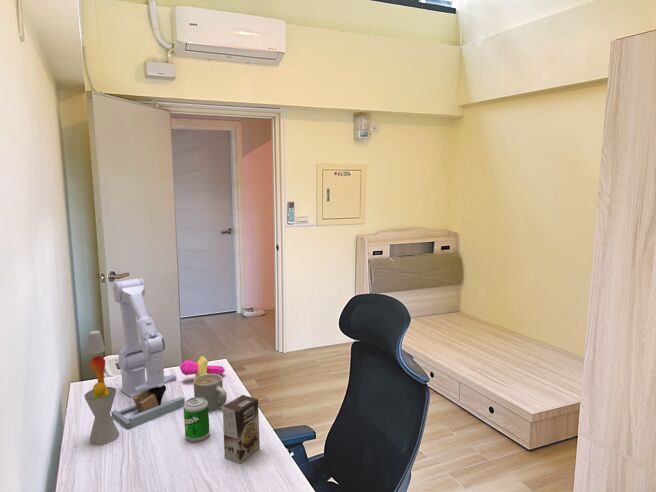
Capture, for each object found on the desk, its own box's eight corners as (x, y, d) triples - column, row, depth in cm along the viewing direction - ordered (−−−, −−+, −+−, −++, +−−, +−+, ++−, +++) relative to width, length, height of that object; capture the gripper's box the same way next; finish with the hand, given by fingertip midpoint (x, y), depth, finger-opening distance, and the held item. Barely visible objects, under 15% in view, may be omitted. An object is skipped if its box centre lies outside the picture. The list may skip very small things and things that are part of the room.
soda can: (202, 427, 156) (200, 393, 154) (214, 436, 151) (212, 400, 149) (180, 436, 151) (178, 401, 149) (192, 446, 146) (190, 409, 144)
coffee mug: (190, 405, 171) (188, 379, 169) (214, 396, 178) (213, 371, 176) (209, 418, 162) (207, 391, 160) (234, 408, 168) (232, 382, 167)
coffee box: (240, 464, 136) (237, 411, 134) (223, 457, 140) (221, 406, 137) (260, 448, 144) (259, 398, 141) (244, 442, 147) (242, 393, 145)
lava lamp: (90, 433, 154) (80, 329, 148) (120, 427, 157) (111, 325, 151) (87, 447, 145) (76, 338, 140) (119, 441, 148) (109, 334, 143)
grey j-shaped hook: (111, 417, 163) (111, 409, 163) (167, 395, 179) (167, 388, 178) (127, 429, 155) (126, 420, 155) (184, 406, 171) (184, 398, 170)
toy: (225, 382, 191) (228, 356, 195) (181, 379, 182) (184, 352, 186) (217, 384, 199) (220, 358, 203) (174, 381, 190) (177, 354, 194)
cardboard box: (138, 411, 167) (131, 395, 165) (150, 402, 171) (144, 386, 168) (147, 417, 163) (140, 401, 160) (160, 408, 166) (153, 392, 164)
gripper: (140, 379, 159) (143, 417, 161) (179, 366, 169) (181, 402, 171) (130, 373, 164) (133, 410, 166) (169, 361, 174) (171, 396, 176)
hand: (157, 406), depth 169 cm, fingers closed
